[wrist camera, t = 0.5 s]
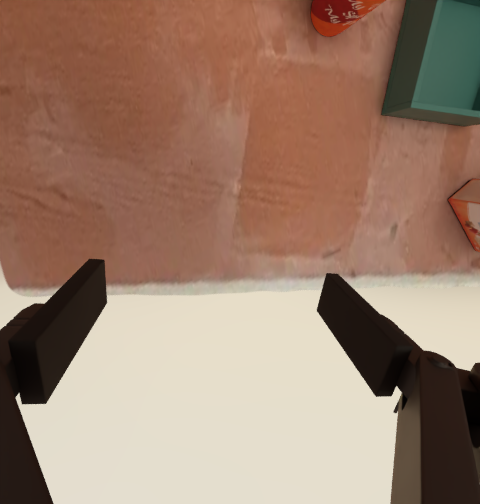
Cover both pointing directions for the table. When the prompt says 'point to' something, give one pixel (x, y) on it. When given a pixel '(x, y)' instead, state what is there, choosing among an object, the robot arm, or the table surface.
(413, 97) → the bin
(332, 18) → the paper cup
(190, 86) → the table surface
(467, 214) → the cracker box
